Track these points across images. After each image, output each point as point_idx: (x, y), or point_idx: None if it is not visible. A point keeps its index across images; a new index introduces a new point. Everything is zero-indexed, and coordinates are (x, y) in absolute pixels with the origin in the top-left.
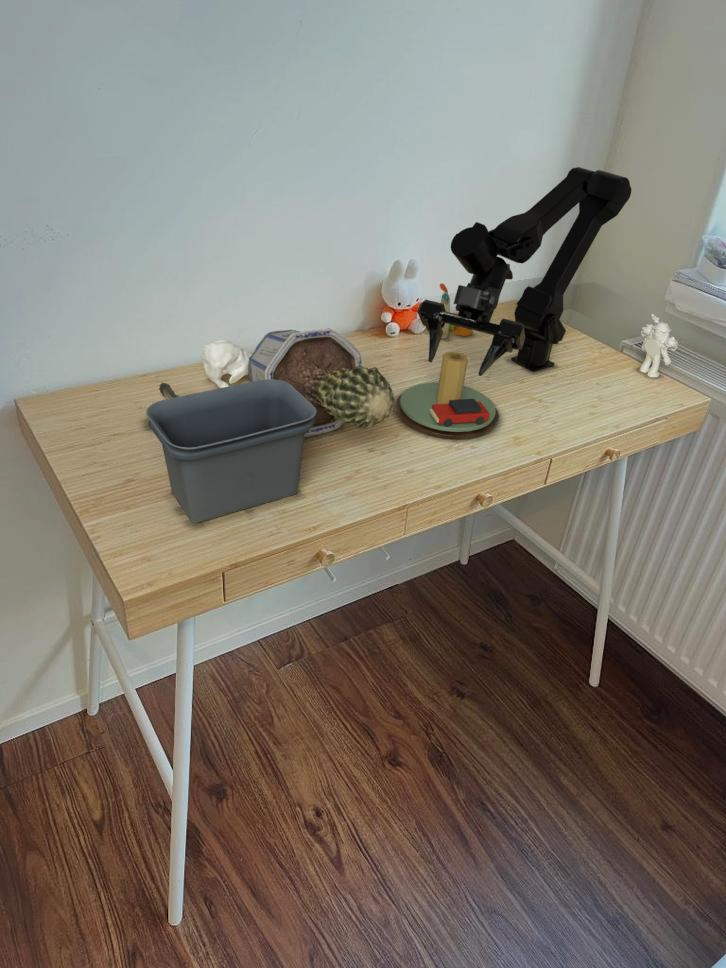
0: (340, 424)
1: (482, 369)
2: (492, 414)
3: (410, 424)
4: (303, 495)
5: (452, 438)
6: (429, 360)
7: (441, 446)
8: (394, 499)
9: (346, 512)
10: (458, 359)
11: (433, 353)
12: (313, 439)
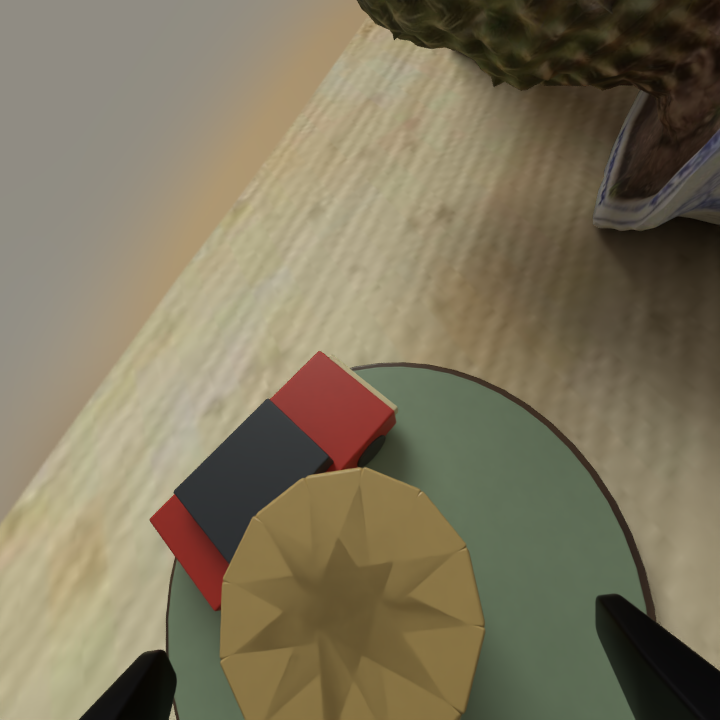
0: (596, 219)
1: (115, 687)
2: (177, 630)
3: (438, 367)
4: (439, 54)
5: None
6: (607, 594)
7: (300, 347)
8: (296, 135)
9: (348, 72)
10: (293, 557)
11: (642, 672)
12: (592, 159)
